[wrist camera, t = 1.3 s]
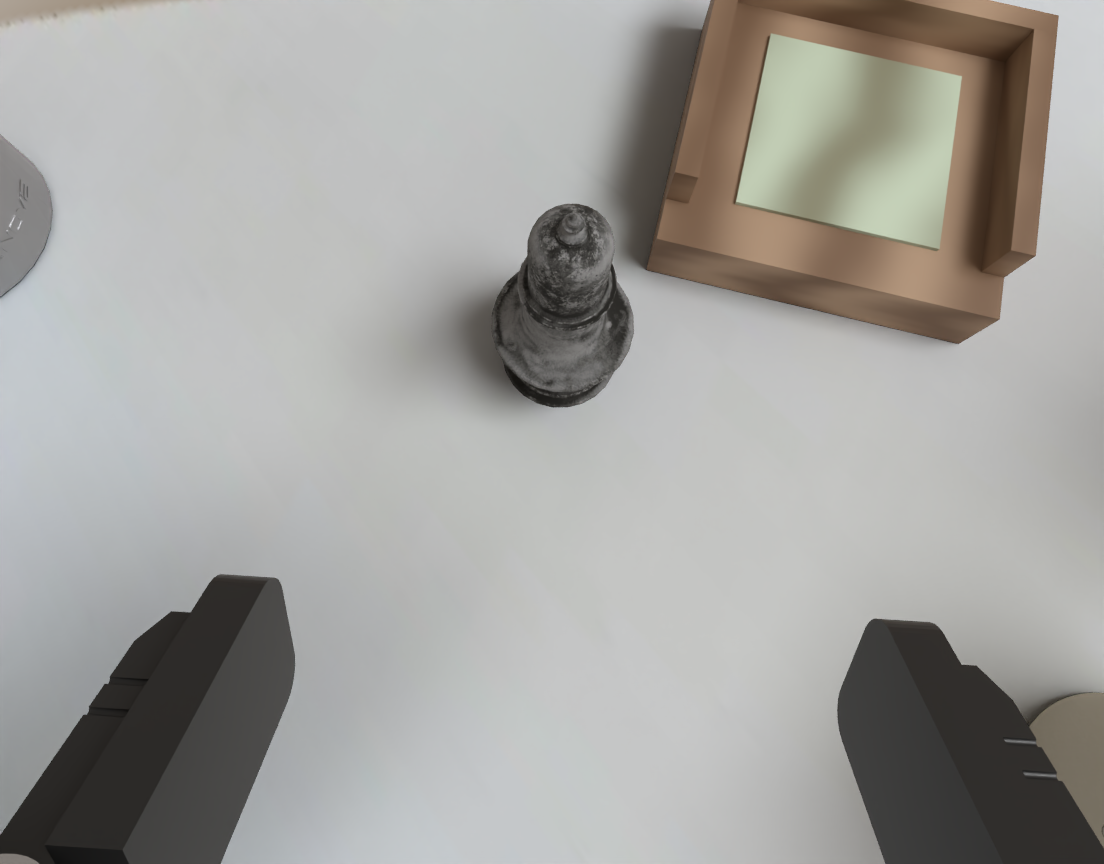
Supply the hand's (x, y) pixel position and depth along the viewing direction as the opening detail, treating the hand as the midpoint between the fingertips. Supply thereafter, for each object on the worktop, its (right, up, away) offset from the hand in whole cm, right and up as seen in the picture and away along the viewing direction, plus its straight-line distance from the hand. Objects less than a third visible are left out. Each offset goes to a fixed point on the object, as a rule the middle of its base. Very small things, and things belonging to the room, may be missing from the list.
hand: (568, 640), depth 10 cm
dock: (+13, +15, +25) cm, 32 cm away
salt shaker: (0, +7, +23) cm, 24 cm away
